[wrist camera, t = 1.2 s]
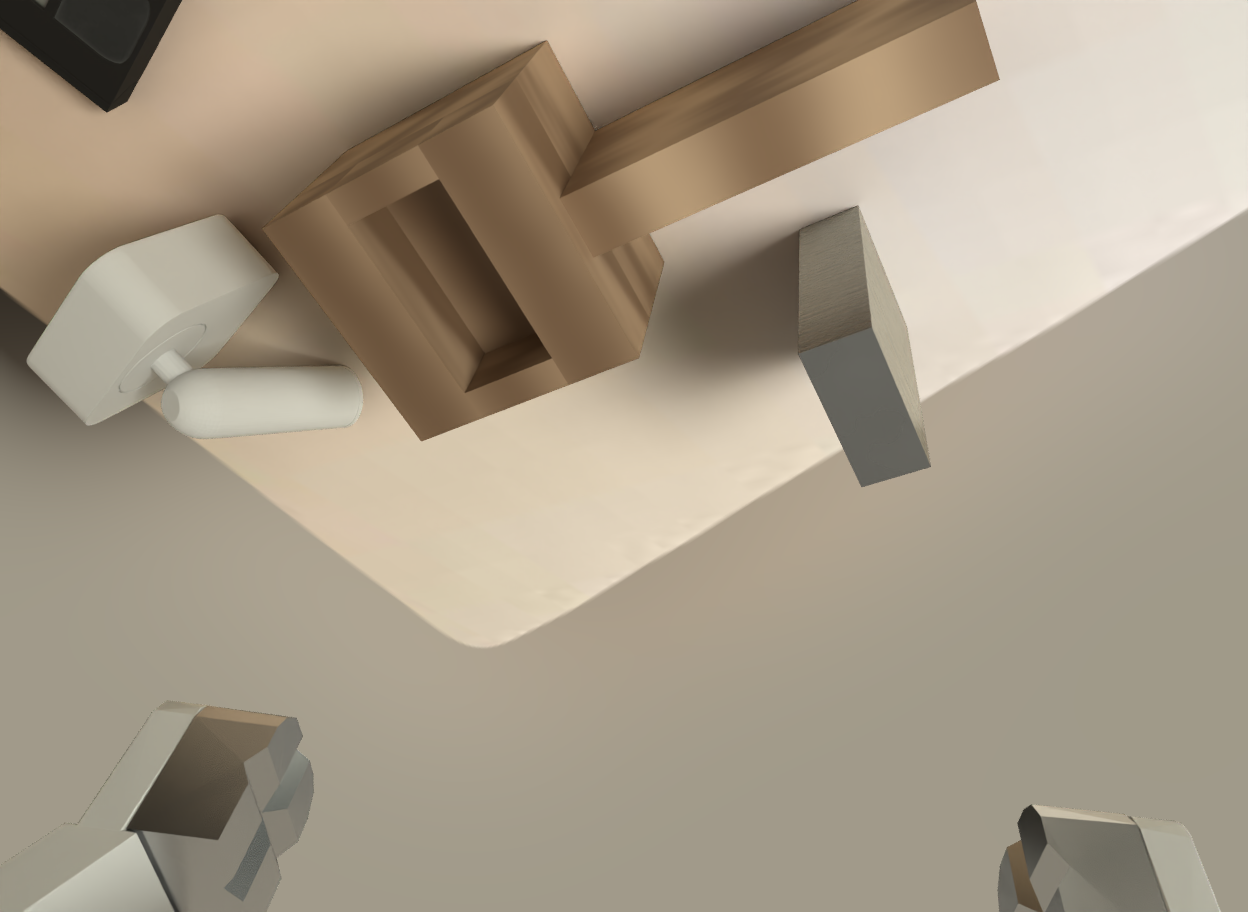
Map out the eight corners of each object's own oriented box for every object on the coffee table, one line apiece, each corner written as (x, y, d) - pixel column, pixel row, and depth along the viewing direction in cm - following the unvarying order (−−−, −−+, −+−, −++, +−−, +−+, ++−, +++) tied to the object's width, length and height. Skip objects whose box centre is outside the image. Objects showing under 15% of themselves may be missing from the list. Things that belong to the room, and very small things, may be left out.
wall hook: (325, 454, 50) (192, 554, 42) (183, 303, 49) (15, 374, 40) (414, 367, 46) (286, 458, 37) (261, 199, 44) (92, 253, 36)
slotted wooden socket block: (911, -161, 31) (938, -134, 25) (997, 121, 36) (1039, 204, 30) (346, 150, 40) (261, 228, 34) (475, 342, 45) (421, 441, 39)
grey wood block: (858, 205, 39) (871, 327, 31) (906, 326, 41) (931, 466, 34) (799, 229, 40) (798, 353, 32) (850, 346, 42) (861, 487, 34)
